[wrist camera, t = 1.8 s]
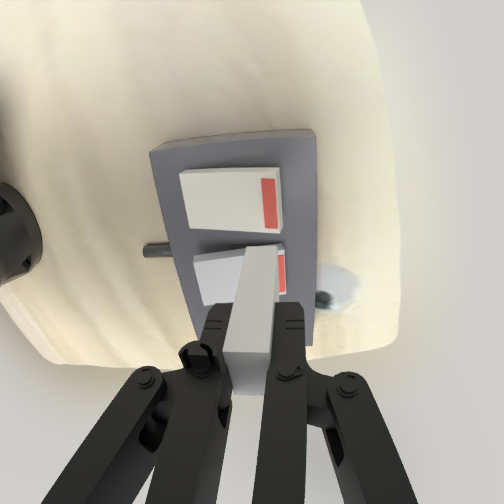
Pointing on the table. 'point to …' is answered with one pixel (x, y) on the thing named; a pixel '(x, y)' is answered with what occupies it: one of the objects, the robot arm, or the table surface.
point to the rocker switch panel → (210, 241)
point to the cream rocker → (233, 199)
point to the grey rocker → (227, 274)
